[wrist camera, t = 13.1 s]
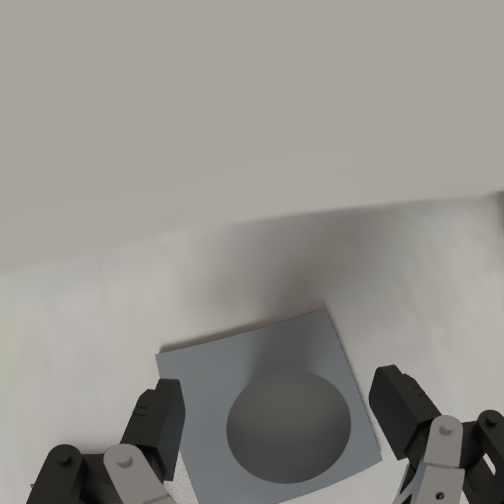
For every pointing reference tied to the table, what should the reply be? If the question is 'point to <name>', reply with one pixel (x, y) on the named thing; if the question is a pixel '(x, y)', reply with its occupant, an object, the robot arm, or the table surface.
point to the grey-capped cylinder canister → (288, 426)
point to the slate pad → (235, 381)
